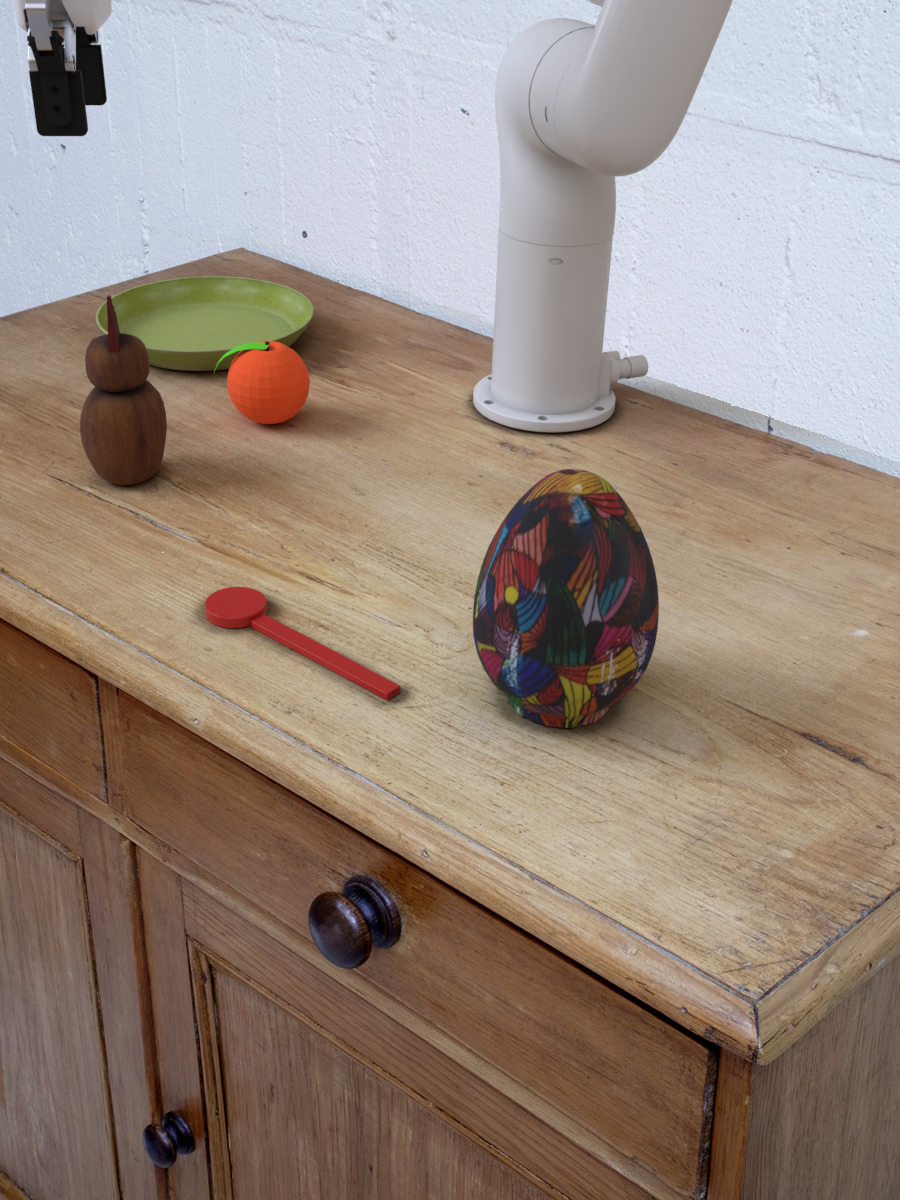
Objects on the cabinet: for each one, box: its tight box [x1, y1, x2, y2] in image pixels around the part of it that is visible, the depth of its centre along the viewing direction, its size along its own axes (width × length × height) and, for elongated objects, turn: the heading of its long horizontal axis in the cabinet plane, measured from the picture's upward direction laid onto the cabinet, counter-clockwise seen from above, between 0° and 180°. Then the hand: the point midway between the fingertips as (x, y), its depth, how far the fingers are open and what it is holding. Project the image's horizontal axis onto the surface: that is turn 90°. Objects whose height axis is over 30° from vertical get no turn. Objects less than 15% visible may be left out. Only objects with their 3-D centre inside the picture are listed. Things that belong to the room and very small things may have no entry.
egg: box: [472, 468, 660, 729], centre depth 75 cm, size 11×11×15 cm
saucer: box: [95, 275, 315, 372], centre depth 127 cm, size 21×21×3 cm
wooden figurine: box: [79, 295, 168, 486], centre depth 99 cm, size 7×6×15 cm
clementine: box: [213, 341, 311, 425], centre depth 110 cm, size 8×7×7 cm
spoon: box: [204, 586, 401, 701], centre depth 83 cm, size 16×4×1 cm, turn 50°
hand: (74, 119), depth 90 cm, fingers open, 9 cm apart
